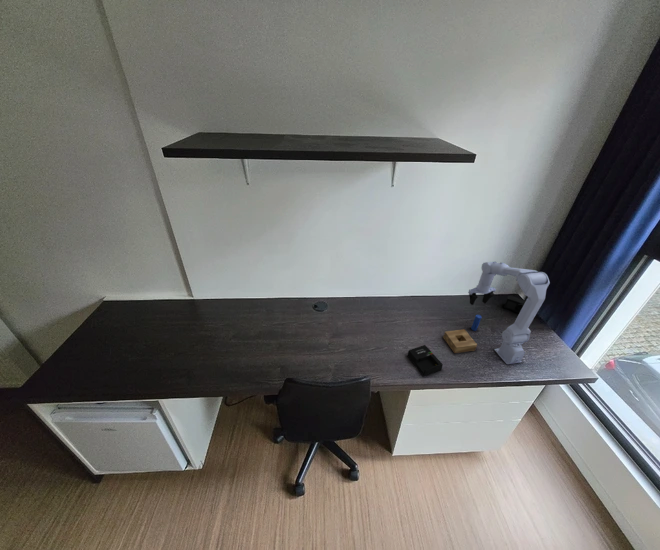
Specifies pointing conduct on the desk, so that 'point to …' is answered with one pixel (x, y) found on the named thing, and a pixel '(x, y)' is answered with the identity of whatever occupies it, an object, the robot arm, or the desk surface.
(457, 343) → the holder
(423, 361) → the battery charger
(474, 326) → the handle
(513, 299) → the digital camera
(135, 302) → the desk surface
